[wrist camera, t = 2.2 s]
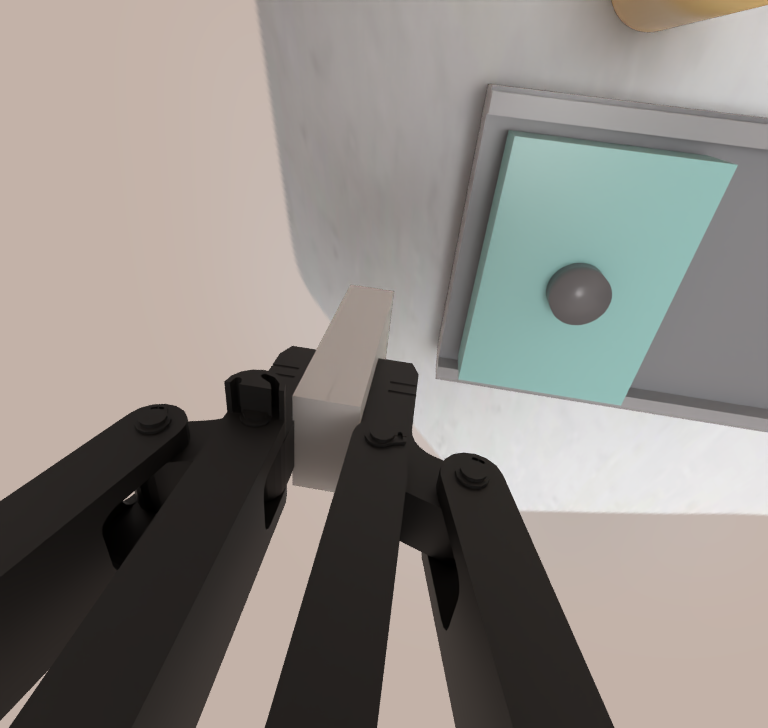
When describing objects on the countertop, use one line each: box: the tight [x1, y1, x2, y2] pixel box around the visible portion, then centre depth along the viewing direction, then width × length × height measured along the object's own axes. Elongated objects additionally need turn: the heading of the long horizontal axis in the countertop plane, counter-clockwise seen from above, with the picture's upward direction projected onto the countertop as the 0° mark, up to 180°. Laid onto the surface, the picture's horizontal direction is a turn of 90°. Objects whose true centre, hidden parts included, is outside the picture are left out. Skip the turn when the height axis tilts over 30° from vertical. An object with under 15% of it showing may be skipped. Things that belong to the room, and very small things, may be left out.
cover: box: [458, 130, 738, 406], centre depth 20 cm, size 11×8×3 cm
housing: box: [436, 84, 768, 432], centre depth 22 cm, size 14×18×4 cm
